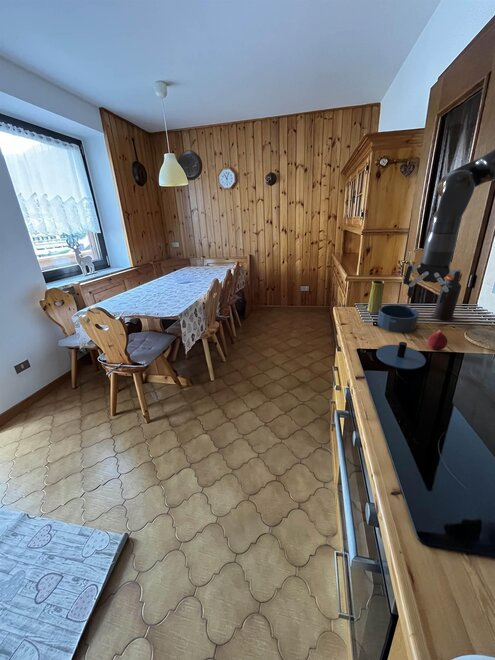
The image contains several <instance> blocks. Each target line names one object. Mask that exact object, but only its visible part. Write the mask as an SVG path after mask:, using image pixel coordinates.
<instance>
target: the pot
mask: <svg viewBox="0 0 495 660" xmlns="http://www.w3.org/2000/svg"><path fill="white" fill-rule="evenodd" d="M418 319H419V312H418V310H417V309H414V308H412V307H409V306H407V305H406V304H386V305H383V306H381V308H380V309H379V313H378V316H377V325H378V326H379V327H380V328H382V329H384V330H387V331H391V332H395V333H408V332H413V331H414V330H415V329H416V327H417V324H418Z"/></svg>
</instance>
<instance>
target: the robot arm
mask: <svg viewBox="0 0 495 660" xmlns="http://www.w3.org/2000/svg"><path fill="white" fill-rule="evenodd" d="M493 181H495V148H494V149H492V150H490V151H489V152H487V153H486V154H484V155H482V156H480V157H479V158H476V159H474V160H472V161H469V162H467V163H465V164H463V165H461V166H459V167H456V168H455V169H453V170H451V171H449V172H448V173H446V174H445V175H443V177H441V179H440V180H439V181H438V184H437V187H436V191H437V194H438V196H439V197H440V200H439V203H438V207H437V210H436V211H435V212H434V214H433V215H432V219H431V222H430V226H429V230H428V233H427V236H426V238H425V243H424V247H423V251H422V255H421V259H420V264H419V265H418V266H417V265H413V264H411V263H410V264H409V265H407V268H406V271H405V275H404V277H403V282H402V283H403V284H404V285H407V287H408V289H407V293H406V295H407V297H408V299H412V297H413V295H414V290H415V286H416V285H417V284H418V283H420V282H421V281H423V282H425V283H433V284H436V283H438V284H439V286H440V288H441V287H442V289H443V292H442V295H441V298H440V302H439V303H442V302H445V300H446V298H447V294H448V292H450V291H456V289H457V286H458V282H459V283H460V281H459V277H460V273H461V272H462V271H461V269H455V270H454V269H450V266H451V262H452V258H453V255H454V252H455V249H456V245H457V241H458V234H459V230H460V227H461V223H462V220H463V215H464V213H465V211H466V210H467V208H468V206H469V203H470V201H471V200H472V197H473V194H474V193H475V192H474V191H475V188H476V187H479V186H480V185H483V184H486V183H488V182H493ZM415 271H417V274H418V275H417V276H416V277H415V278H413V280H410V279H411V275H412V274H414V272H415ZM448 274H451V277H452V278H454V280H453V285H452V286H448V284H447V282H446V281H447V279H446V278H447V275H448ZM461 274H462V273H461Z"/></svg>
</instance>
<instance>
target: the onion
mask: <svg viewBox="0 0 495 660" xmlns="http://www.w3.org/2000/svg"><path fill="white" fill-rule="evenodd" d="M448 343H449V342H448V337H447V335H445V334H444V333H443V331H442V330H441V329H439V330H438V331H437V332H434V333H431V335H429V337H428V338H427V345H428V347H429V348H430V349H431V350H433V351H441V350H443V349H445V348H446V347H447V345H448Z"/></svg>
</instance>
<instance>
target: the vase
mask: <svg viewBox="0 0 495 660" xmlns="http://www.w3.org/2000/svg"><path fill="white" fill-rule="evenodd" d="M384 291H385V281H384V280H380V279H377V280H376V279H375V280H372V281H371V288H370V293H369V299H368V304H367V309H366V311H367V312H368V313H372V314H377V313H378V314H379V309H380V308H381V307H382V305H383V297H384Z"/></svg>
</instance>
